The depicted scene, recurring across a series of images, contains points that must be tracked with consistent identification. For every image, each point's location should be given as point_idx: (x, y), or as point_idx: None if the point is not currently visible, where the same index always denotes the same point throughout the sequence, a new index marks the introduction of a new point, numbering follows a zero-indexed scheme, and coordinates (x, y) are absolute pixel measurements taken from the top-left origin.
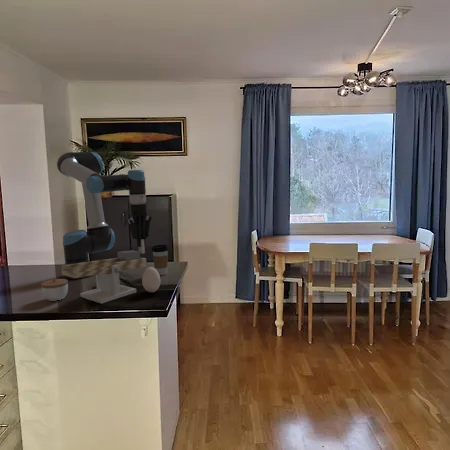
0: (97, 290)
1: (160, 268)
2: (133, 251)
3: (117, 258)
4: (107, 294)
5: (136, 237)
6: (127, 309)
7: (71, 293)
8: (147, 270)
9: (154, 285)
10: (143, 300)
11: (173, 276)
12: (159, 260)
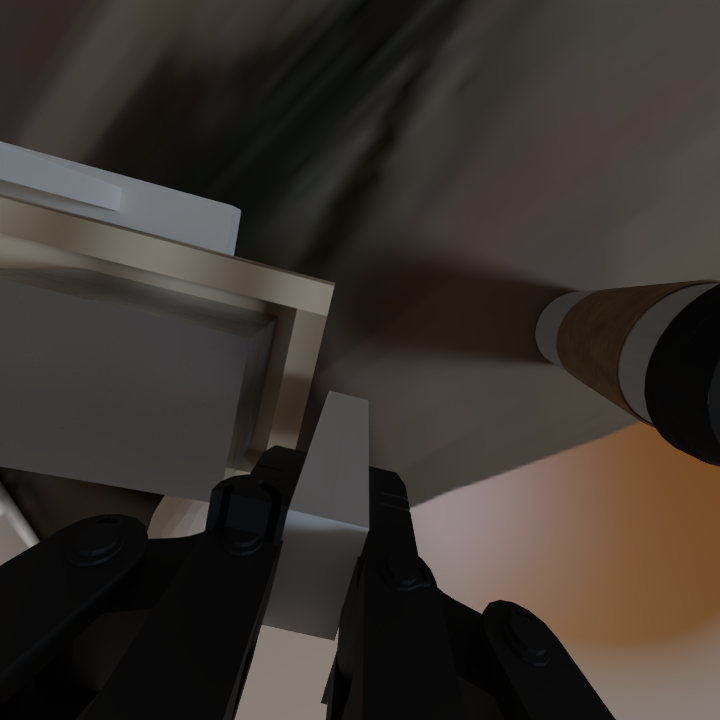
0: (71, 204)
1: (560, 359)
2: (164, 438)
3: (69, 249)
4: None
5: (45, 693)
6: (16, 508)
7: (2, 11)
8: None
9: None
10: (132, 505)
11: (529, 431)
12: (593, 377)
